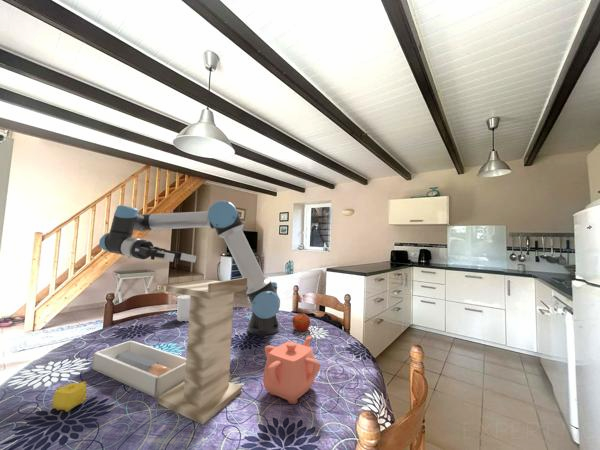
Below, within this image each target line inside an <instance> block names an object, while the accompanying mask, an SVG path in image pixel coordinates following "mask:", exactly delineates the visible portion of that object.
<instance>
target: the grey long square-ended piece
mask: <svg viewBox="0 0 600 450" xmlns="http://www.w3.org/2000/svg"><path fill="white" fill-rule="evenodd" d="M116 359H117V360H118V361H121V362H123V363H126V364H128V365H131V366H134V367H136V368H139V369H141V370H144V371H146V372H149V373H151V374H154V375H156V376H160V375H162V374H164V373H166V372H168V371H170V370H172V369H171V368H168V367H165V366H162V365H160V364H159V362H156V361H153V360H150V359H147V358H144V357H142V356H139V355H136V354H133V353H130V352H125V353H122V354H118V355H117V356H116Z"/></svg>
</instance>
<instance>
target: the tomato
mask: <svg viewBox="0 0 600 450" xmlns="http://www.w3.org/2000/svg"><path fill="white" fill-rule="evenodd" d="M292 326H293V328H294V329H295V330H296V331H297V332H306V331H307V330H308V329H309V327H310V326H311V319H310V317H309V316H308V314H305V313H304V312H302V313H301V312H300V313H297V314H295V315H294V316H293V317H292Z"/></svg>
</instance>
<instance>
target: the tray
mask: <svg viewBox="0 0 600 450" xmlns="http://www.w3.org/2000/svg"><path fill="white" fill-rule="evenodd" d="M125 352H130V353H133V354H136V355H139V356H142V357H144V358H147V359H150V360H153V361H156V362H159V364H160V365H162V366H165V367H168V368H171V369H172V370H170V371H168V372H166V373H164V374H162V375H160V376H156V375H154V374H151V373H149V372H146V371H144V370H141V369H139V368H136V367H134V366H131V365H128V364H126V363H123V362H121V361H118V360H117V359H116V356H117V355H118V354H122V353H125ZM91 369H92V370H93V371H96V372H98V373H100V374H103V375H105V376H106V377H108V378H111V379H113V380H116V381H118V382H120V383H122V384H124V385H126V386H129V387H131V388H133V389H135V390H137V391H139V392H141V393H144V394H146V395H148V396H151V397H152V398H155V399H158V397H159V396H161V395H163V394H164V393H166V392H168V391H169V390H171V389H173V388H174V387H176V386H178V385H179V384H181V383H183V382H185V369H186V357H184V356H182V355H181V356H180V355H177V354H175V353H171V352H169V351H166V350H162V349H160V348H156V347H153V346H151V345H148V344H144V343H141V342H137V341H134V340H128V341H125V342H122V343H119V344H116V345H112V346H110V347H106V348H104V349H100V350H97V351H95V352H93V354H92V364H91Z"/></svg>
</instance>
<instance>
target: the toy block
mask: <svg viewBox="0 0 600 450" xmlns="http://www.w3.org/2000/svg"><path fill="white" fill-rule="evenodd" d="M87 393H88V391H87V381H81V382H70V383H68V384H66V385H64V386H58V387H56V390H55V392H54V393H53V394H54V395H53V397H52V398H53V399H52V405H51V406H52V408H53V409H56V411H60V410H63V411H64V412H65V413H66V412H67V411H68V412H70V411H71V410H72V409H74V408H75V407H77V406H79V405H81V404H82V403H83V402H85V401H86V400H87V395H88V394H87Z"/></svg>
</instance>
